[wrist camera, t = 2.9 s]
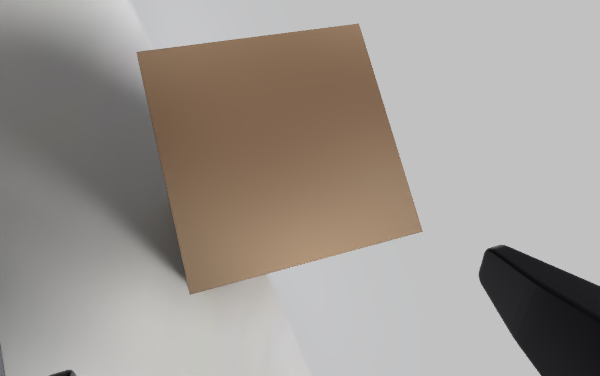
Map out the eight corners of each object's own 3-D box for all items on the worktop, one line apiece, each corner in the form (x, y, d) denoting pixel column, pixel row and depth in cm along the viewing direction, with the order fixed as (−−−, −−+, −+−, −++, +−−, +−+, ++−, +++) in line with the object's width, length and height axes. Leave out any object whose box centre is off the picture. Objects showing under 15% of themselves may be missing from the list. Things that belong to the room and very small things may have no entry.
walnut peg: (287, 265, 20) (422, 231, 8) (195, 289, 19) (189, 294, 7) (264, 178, 20) (358, 24, 8) (175, 197, 19) (136, 52, 7)
